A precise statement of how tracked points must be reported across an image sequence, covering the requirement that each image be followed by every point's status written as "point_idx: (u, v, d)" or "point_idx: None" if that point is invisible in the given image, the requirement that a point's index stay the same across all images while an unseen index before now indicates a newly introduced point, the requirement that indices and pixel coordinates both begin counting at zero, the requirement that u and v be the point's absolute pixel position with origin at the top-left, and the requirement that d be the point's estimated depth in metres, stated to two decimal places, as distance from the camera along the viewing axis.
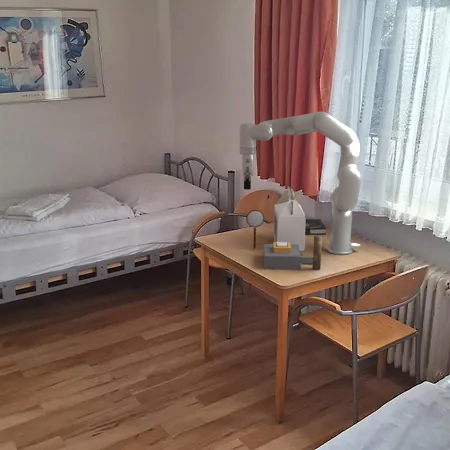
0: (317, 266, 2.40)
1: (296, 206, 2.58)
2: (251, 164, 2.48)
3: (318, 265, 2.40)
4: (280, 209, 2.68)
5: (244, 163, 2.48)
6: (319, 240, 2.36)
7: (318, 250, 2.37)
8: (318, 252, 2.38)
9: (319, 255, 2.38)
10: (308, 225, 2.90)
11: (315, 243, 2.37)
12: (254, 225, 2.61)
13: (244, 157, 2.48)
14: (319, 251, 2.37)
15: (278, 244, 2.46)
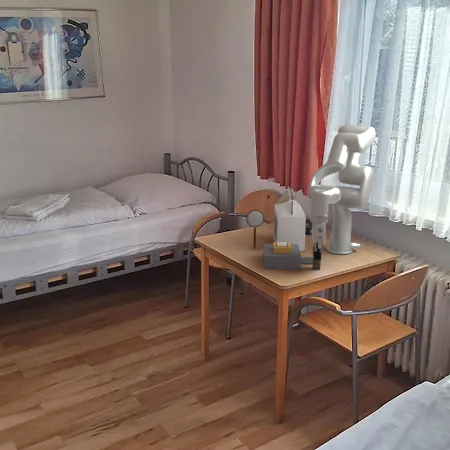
0: (317, 266, 2.40)
1: (296, 206, 2.58)
2: (324, 233, 2.32)
3: (318, 265, 2.40)
4: (280, 209, 2.68)
5: (316, 232, 2.32)
6: None
7: None
8: None
9: None
10: (308, 225, 2.90)
11: None
12: (254, 225, 2.61)
13: (316, 226, 2.31)
14: None
15: (278, 244, 2.46)
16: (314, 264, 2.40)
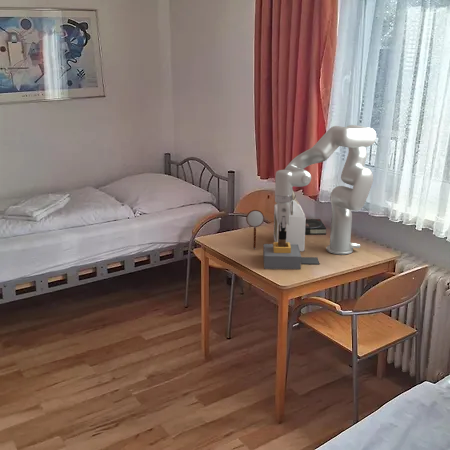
0: (282, 246, 2.45)
1: (296, 206, 2.58)
2: (287, 213, 2.37)
3: (283, 245, 2.45)
4: None
5: (280, 212, 2.37)
6: None
7: None
8: None
9: None
10: (308, 225, 2.90)
11: None
12: (254, 225, 2.61)
13: (280, 206, 2.37)
14: None
15: None
16: (279, 244, 2.45)
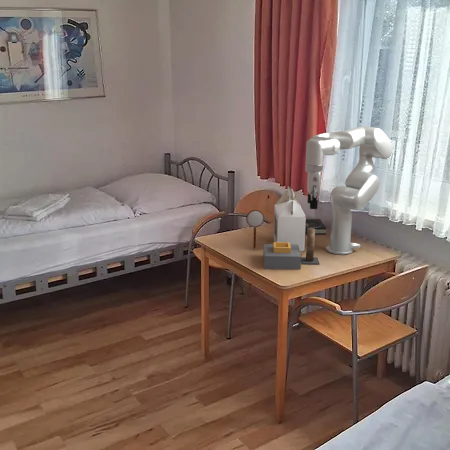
0: (310, 258, 2.48)
1: (296, 206, 2.58)
2: (319, 182, 2.34)
3: (311, 257, 2.48)
4: (280, 209, 2.68)
5: (311, 181, 2.35)
6: (312, 232, 2.45)
7: (311, 242, 2.46)
8: (311, 244, 2.46)
9: (312, 247, 2.47)
10: (308, 225, 2.90)
11: (308, 235, 2.45)
12: (254, 225, 2.61)
13: (311, 175, 2.34)
14: (312, 243, 2.46)
15: None
16: (307, 256, 2.48)
